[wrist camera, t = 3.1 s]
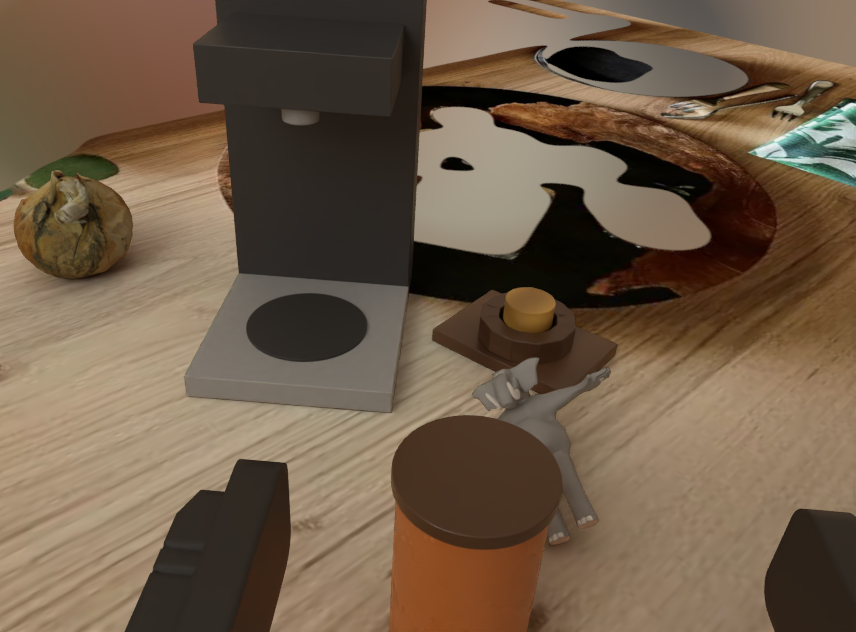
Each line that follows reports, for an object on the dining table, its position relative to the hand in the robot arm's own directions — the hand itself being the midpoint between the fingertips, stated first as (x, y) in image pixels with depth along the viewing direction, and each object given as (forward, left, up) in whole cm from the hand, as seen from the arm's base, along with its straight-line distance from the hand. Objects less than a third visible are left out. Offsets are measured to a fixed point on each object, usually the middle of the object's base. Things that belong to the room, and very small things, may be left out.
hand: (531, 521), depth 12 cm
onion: (+45, -16, -20) cm, 52 cm away
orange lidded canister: (+6, -9, -20) cm, 23 cm away
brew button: (+16, -30, -18) cm, 38 cm away
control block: (+16, -30, -20) cm, 39 cm away
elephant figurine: (+9, -20, -20) cm, 29 cm away
